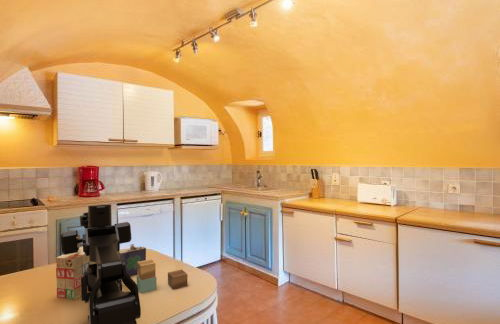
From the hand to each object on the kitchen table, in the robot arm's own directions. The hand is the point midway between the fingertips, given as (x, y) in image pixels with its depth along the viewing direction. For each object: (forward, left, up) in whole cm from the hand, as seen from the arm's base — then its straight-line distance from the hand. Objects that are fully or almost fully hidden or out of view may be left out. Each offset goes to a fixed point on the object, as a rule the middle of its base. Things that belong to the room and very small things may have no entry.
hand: (95, 233), depth 97 cm
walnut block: (-16, -22, -17) cm, 32 cm away
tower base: (-13, -13, -17) cm, 25 cm away
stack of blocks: (+1, +1, -17) cm, 17 cm away
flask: (+1, -12, -17) cm, 20 cm away
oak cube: (-13, -13, -13) cm, 22 cm away
